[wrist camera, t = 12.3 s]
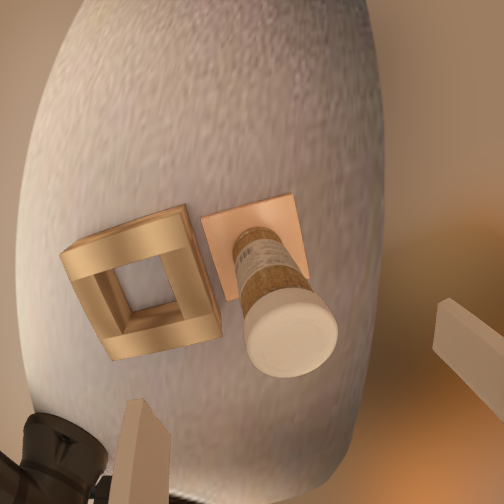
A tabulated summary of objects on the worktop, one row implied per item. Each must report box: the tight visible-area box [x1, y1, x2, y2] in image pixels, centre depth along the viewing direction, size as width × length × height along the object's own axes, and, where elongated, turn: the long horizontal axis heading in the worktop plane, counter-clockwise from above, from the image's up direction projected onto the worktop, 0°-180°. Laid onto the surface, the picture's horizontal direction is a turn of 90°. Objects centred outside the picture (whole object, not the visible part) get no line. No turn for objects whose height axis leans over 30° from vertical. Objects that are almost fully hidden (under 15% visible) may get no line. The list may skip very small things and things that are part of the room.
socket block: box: [59, 204, 222, 361], centre depth 25 cm, size 11×11×4 cm
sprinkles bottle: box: [232, 227, 338, 378], centre depth 20 cm, size 5×5×14 cm
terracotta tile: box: [201, 193, 310, 301], centre depth 26 cm, size 8×8×1 cm
